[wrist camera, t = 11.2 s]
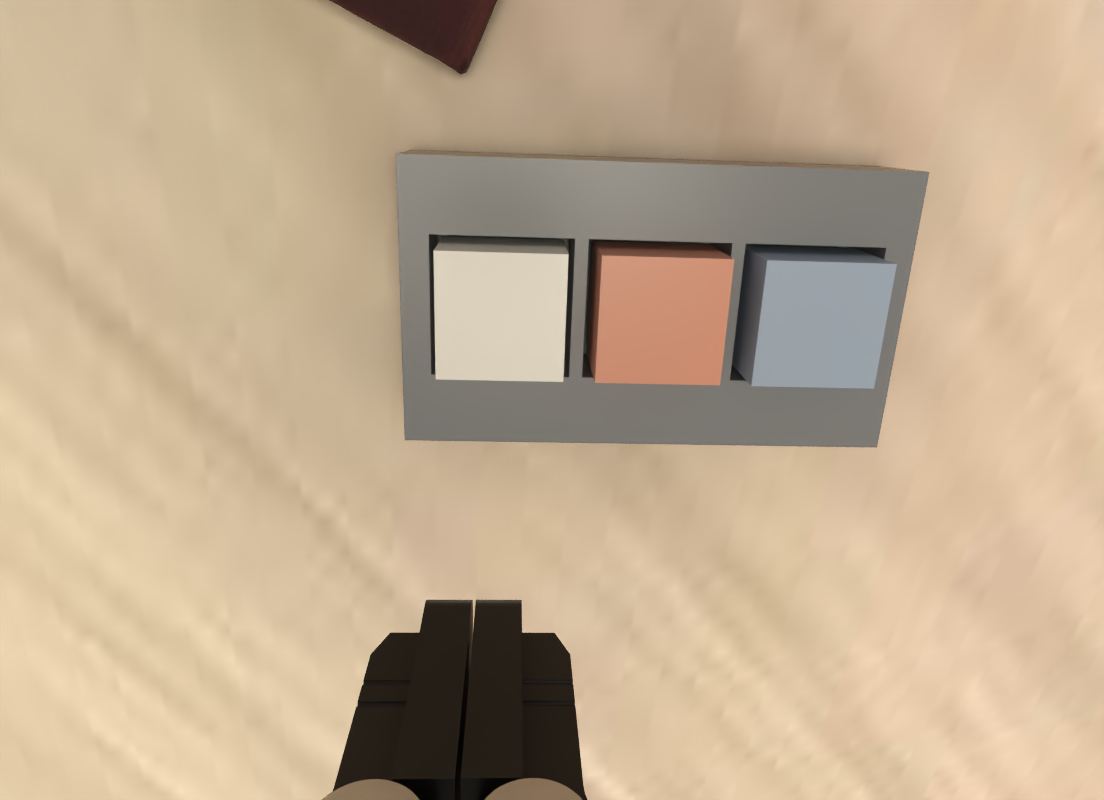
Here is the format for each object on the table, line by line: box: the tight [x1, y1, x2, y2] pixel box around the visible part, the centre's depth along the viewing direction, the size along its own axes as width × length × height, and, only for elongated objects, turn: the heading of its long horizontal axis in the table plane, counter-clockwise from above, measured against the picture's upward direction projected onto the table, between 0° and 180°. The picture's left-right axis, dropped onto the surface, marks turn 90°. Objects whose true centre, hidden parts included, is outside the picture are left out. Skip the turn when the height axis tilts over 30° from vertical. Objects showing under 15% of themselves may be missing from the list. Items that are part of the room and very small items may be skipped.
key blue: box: [732, 245, 897, 389], centre depth 36 cm, size 6×6×4 cm
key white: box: [433, 236, 569, 382], centre depth 35 cm, size 6×6×4 cm
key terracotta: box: [587, 241, 734, 385], centre depth 35 cm, size 6×6×4 cm
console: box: [396, 150, 929, 447], centre depth 38 cm, size 23×13×5 cm, turn 88°
